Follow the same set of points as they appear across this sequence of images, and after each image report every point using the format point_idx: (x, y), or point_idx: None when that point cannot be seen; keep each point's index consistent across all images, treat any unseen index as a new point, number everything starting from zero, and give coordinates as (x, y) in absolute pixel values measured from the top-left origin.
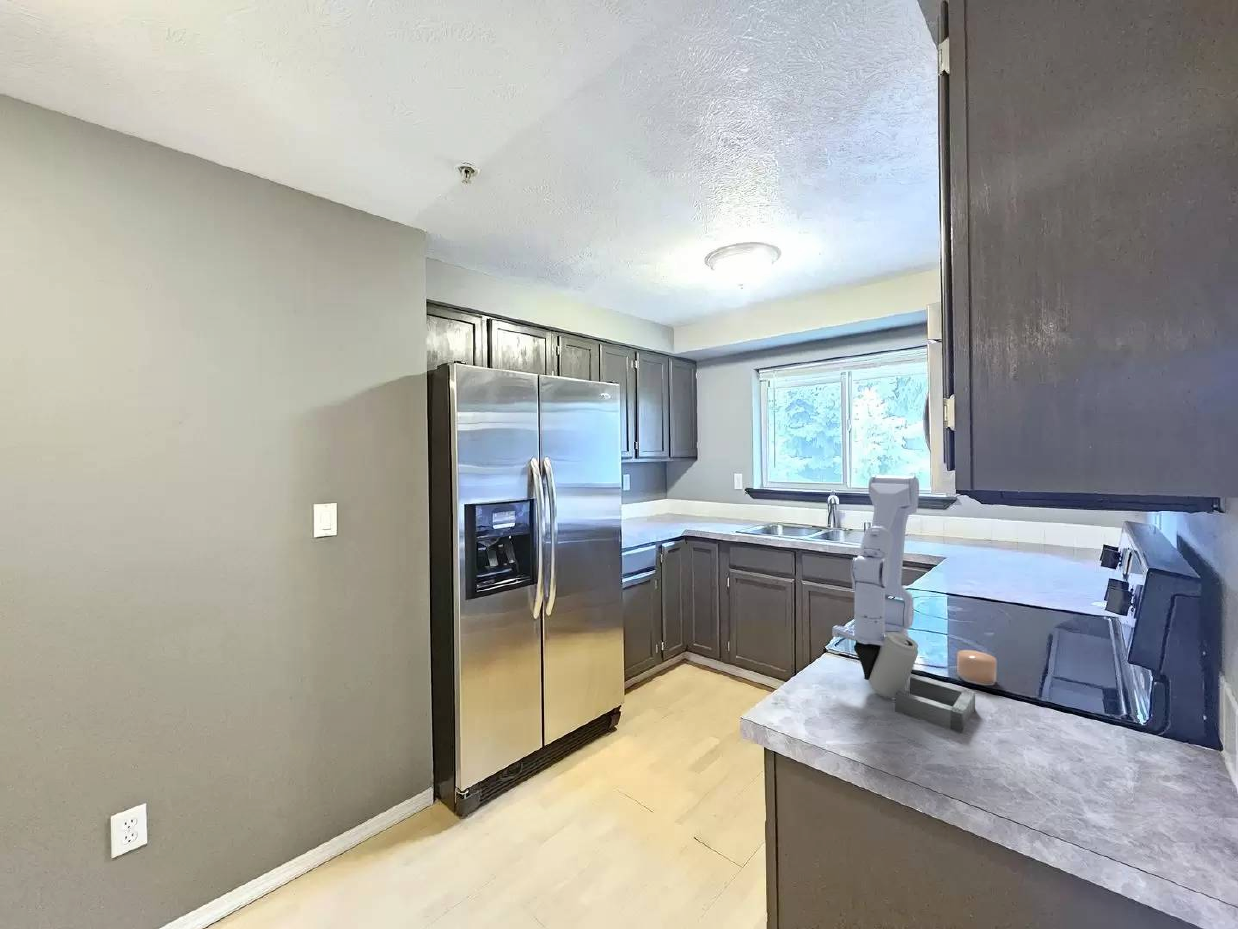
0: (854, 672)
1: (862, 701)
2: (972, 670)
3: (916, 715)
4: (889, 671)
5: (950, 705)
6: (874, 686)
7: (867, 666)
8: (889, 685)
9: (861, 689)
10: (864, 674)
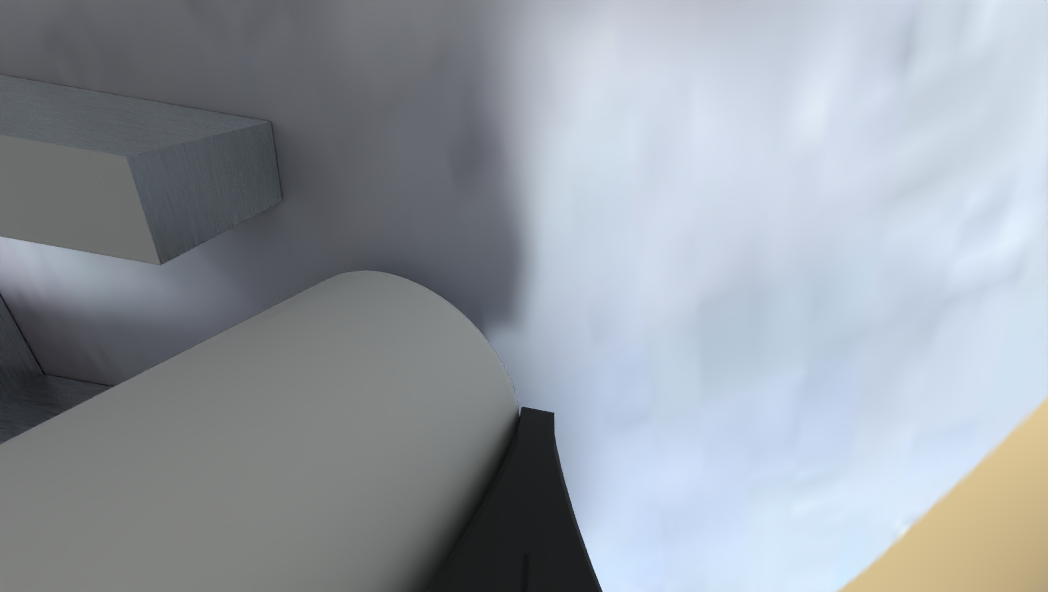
0: (651, 535)
1: (541, 156)
2: None
3: (81, 97)
4: (97, 447)
5: (94, 387)
6: (442, 317)
7: (504, 528)
8: (263, 320)
9: (582, 357)
10: (551, 444)
